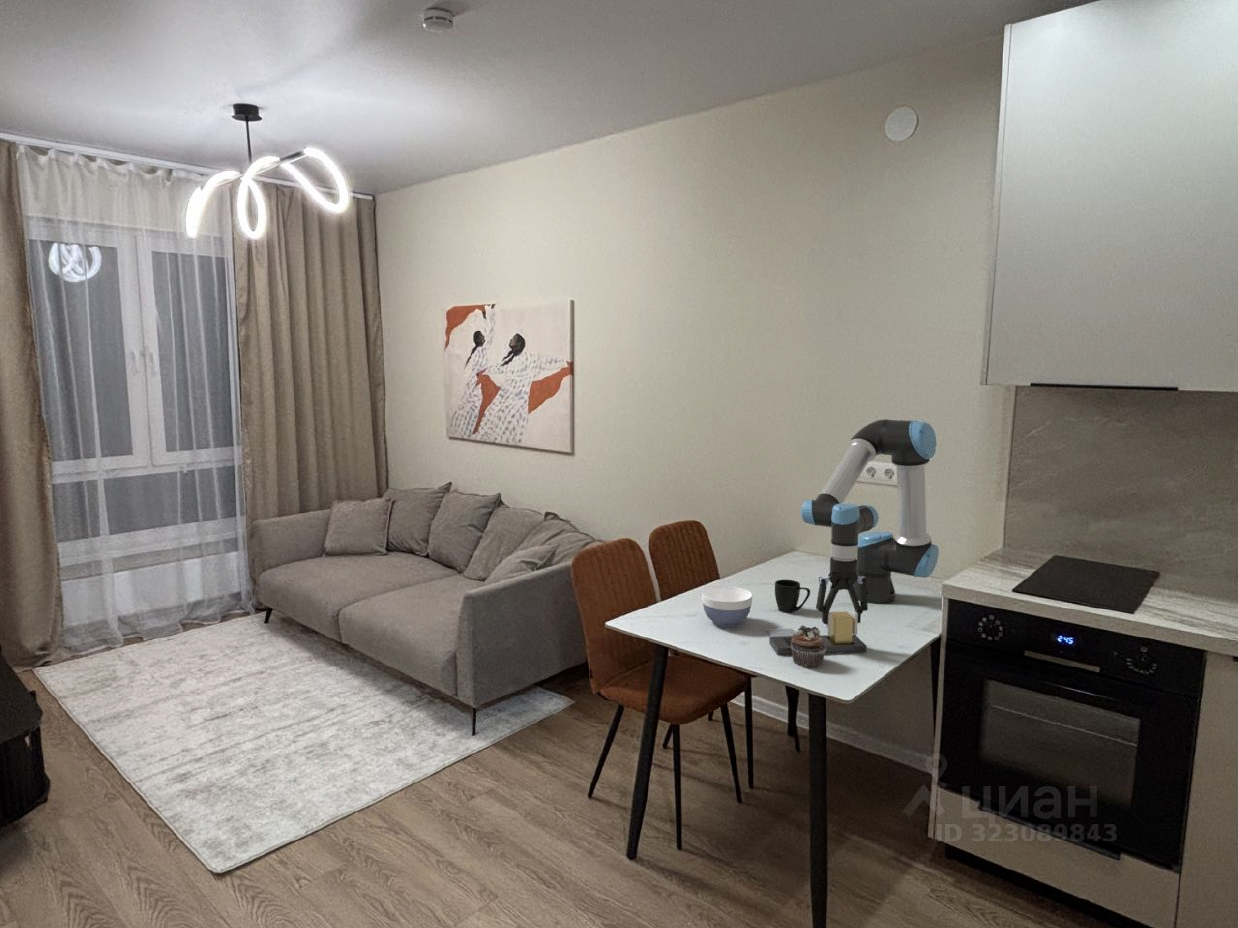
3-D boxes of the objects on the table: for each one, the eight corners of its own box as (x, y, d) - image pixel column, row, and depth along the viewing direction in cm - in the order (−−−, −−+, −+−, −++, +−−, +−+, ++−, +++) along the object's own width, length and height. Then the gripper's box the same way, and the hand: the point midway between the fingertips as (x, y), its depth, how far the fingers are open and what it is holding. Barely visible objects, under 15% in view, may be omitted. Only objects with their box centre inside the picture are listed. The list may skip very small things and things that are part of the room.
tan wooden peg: (845, 643, 224) (846, 611, 222) (851, 650, 219) (853, 617, 217) (829, 644, 223) (830, 611, 222) (834, 650, 218) (836, 617, 217)
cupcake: (787, 666, 207) (788, 631, 206) (793, 653, 216) (794, 620, 215) (823, 671, 204) (824, 636, 203) (827, 658, 213) (828, 624, 212)
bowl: (755, 617, 247) (755, 588, 246) (747, 633, 232) (747, 603, 231) (707, 612, 252) (707, 584, 251) (696, 628, 237) (697, 598, 236)
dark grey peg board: (854, 640, 226) (854, 634, 226) (866, 652, 217) (866, 645, 217) (769, 643, 224) (769, 636, 224) (777, 654, 215) (777, 648, 215)
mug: (803, 618, 246) (804, 590, 244) (769, 610, 253) (770, 583, 252) (813, 611, 252) (814, 584, 251) (781, 604, 259) (781, 577, 258)
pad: (792, 630, 235) (792, 628, 235) (800, 639, 227) (800, 637, 227) (767, 630, 234) (767, 629, 234) (774, 640, 226) (774, 638, 226)
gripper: (872, 553, 222) (869, 628, 225) (805, 555, 220) (803, 630, 224) (883, 560, 214) (879, 637, 217) (813, 561, 213) (811, 639, 216)
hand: (840, 633), depth 221 cm, fingers open, 7 cm apart
